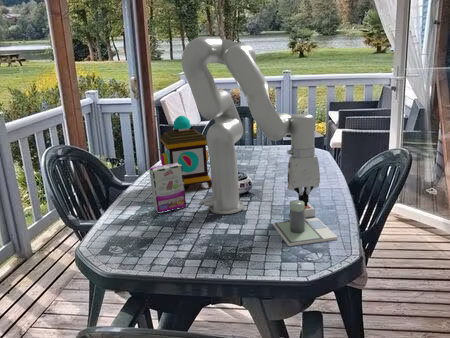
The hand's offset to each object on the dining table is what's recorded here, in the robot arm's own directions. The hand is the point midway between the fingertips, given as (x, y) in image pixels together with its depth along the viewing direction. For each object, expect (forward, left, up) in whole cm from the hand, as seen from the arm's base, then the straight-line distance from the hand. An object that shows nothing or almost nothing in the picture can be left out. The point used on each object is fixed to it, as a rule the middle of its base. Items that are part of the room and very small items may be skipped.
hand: (303, 204), depth 149 cm
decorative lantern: (-35, +46, -4) cm, 58 cm away
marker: (-7, -14, -3) cm, 16 cm away
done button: (0, 0, -3) cm, 3 cm away
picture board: (-5, -14, -3) cm, 15 cm away
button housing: (0, 0, -3) cm, 3 cm away
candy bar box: (-44, +20, -4) cm, 49 cm away
